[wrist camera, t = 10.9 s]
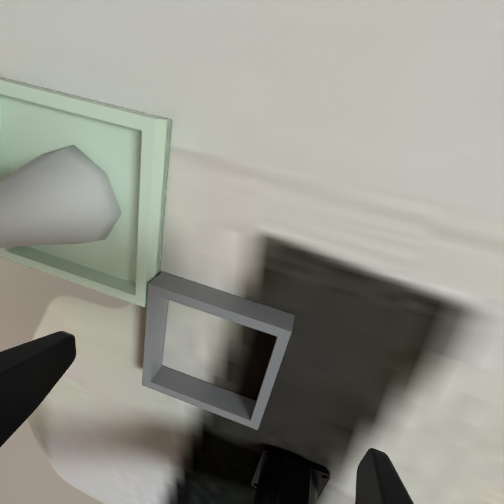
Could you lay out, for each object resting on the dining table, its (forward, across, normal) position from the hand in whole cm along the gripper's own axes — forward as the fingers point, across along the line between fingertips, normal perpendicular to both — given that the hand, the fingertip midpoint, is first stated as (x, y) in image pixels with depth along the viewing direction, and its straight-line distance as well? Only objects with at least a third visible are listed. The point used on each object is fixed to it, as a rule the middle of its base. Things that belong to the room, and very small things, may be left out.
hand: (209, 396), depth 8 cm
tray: (+13, +16, +1) cm, 20 cm away
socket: (+13, +3, +11) cm, 17 cm away
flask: (+13, +15, +1) cm, 20 cm away
